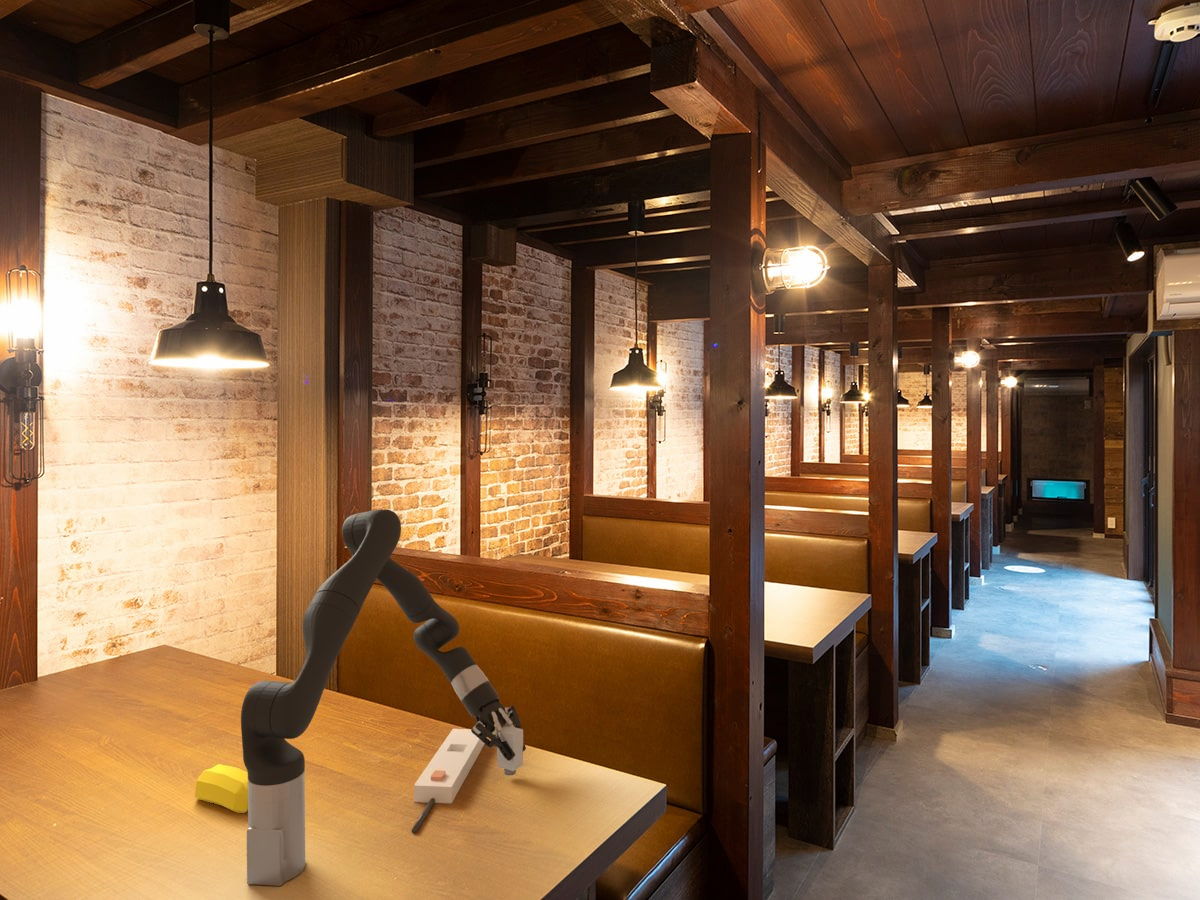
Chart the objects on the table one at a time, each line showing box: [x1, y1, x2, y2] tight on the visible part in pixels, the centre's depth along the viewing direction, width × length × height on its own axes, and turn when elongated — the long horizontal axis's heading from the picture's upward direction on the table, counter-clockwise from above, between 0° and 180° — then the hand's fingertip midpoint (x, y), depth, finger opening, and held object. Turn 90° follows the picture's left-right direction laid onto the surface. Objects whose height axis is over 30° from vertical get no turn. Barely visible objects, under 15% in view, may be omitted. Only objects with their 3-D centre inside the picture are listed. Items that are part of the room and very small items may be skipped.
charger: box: [496, 725, 524, 776], centre depth 169 cm, size 4×4×10 cm
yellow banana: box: [194, 763, 248, 814], centre depth 159 cm, size 18×7×8 cm
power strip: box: [411, 728, 486, 834], centre depth 167 cm, size 42×8×4 cm, turn 175°
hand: (517, 754), depth 168 cm, fingers closed on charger, 3 cm apart
